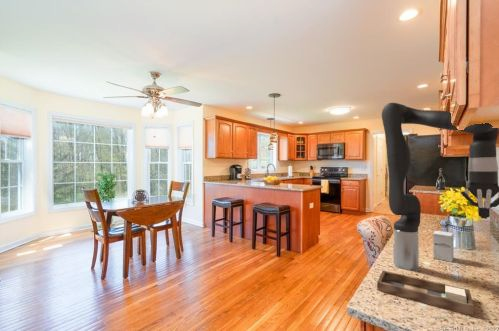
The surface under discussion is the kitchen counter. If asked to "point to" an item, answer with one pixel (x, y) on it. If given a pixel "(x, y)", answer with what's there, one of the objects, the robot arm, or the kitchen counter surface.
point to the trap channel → (423, 292)
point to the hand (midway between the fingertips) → (483, 218)
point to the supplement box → (443, 245)
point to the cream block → (455, 294)
